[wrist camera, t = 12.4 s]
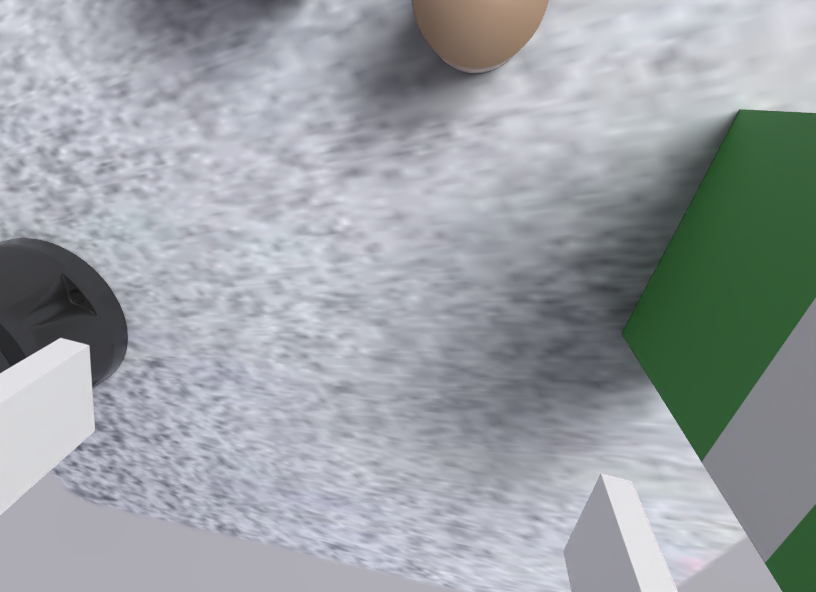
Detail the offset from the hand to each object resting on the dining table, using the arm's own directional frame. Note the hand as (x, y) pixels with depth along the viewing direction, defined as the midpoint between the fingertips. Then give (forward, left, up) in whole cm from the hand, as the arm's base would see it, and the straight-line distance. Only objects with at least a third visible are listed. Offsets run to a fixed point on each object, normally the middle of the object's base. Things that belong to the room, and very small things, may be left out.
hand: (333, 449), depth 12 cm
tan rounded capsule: (0, +14, -27) cm, 31 cm away
